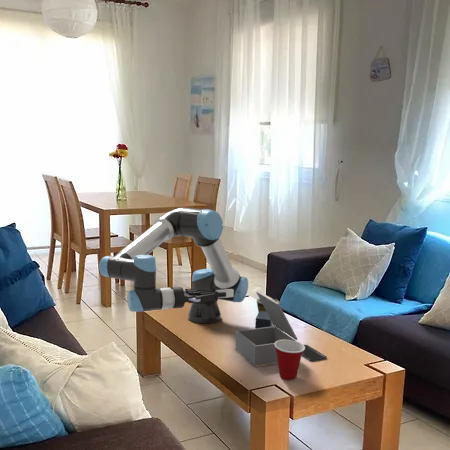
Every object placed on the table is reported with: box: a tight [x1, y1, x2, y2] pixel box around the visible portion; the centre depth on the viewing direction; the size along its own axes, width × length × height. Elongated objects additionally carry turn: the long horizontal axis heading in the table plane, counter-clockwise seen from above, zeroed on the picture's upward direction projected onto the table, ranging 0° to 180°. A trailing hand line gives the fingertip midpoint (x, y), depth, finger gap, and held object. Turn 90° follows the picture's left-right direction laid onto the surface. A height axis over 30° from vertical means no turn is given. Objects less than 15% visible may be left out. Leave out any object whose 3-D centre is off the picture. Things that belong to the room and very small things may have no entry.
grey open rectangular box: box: [234, 325, 297, 368], centre depth 219 cm, size 18×17×8 cm
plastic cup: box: [274, 340, 305, 381], centre depth 199 cm, size 11×11×12 cm
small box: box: [254, 311, 274, 329], centre depth 237 cm, size 11×6×10 cm, turn 168°
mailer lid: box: [255, 290, 299, 341], centre depth 219 cm, size 18×17×1 cm
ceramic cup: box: [256, 298, 280, 313], centre depth 261 cm, size 13×10×10 cm
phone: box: [301, 344, 327, 363], centre depth 222 cm, size 8×1×15 cm
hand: (232, 292), depth 210 cm, fingers closed
